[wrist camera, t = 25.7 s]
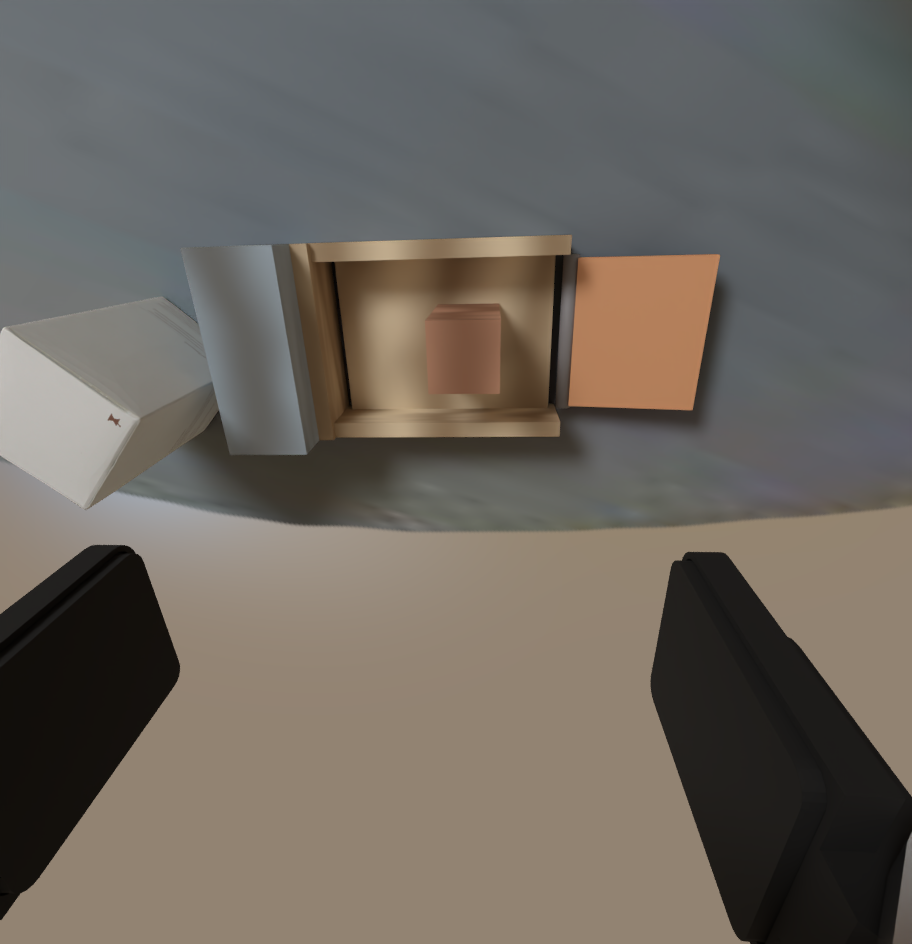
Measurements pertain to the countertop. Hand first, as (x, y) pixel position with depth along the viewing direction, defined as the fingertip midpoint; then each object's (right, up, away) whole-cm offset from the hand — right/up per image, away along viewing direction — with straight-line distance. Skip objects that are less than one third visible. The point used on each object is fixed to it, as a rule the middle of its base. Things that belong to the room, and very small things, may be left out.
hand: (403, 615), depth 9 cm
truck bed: (-3, +12, +26) cm, 29 cm away
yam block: (+2, +12, +25) cm, 27 cm away
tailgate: (+8, +12, +24) cm, 28 cm away
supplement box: (-19, +10, +28) cm, 35 cm away
